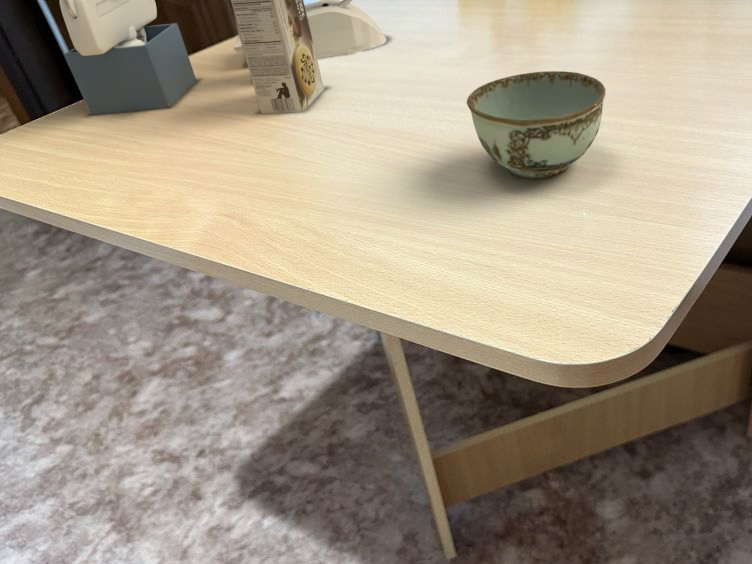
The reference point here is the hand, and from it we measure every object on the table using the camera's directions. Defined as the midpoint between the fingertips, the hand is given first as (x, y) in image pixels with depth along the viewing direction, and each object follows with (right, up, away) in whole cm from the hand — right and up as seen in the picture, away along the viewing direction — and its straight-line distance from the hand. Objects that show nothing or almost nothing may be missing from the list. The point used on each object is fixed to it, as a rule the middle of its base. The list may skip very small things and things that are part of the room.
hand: (135, 69), depth 103 cm
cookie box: (+25, -7, -5) cm, 27 cm away
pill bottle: (0, -3, +3) cm, 4 cm away
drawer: (0, -2, +4) cm, 5 cm away
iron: (+24, +8, +14) cm, 29 cm away
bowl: (+57, -23, -30) cm, 68 cm away
